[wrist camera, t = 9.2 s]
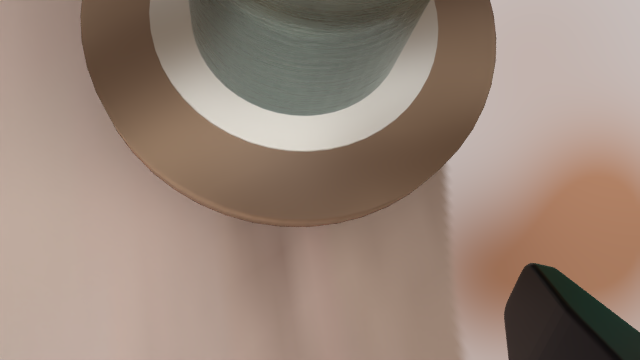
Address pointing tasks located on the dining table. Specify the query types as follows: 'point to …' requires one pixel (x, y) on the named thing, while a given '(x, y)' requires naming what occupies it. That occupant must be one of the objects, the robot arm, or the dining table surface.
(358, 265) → the dining table surface
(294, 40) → the tea tin
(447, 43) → the turntable
